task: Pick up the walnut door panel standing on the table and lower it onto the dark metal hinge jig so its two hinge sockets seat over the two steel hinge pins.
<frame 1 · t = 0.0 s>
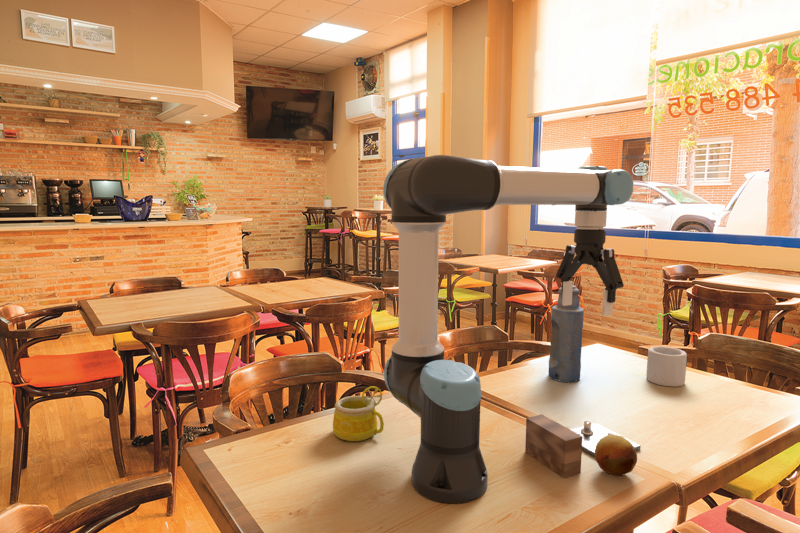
hand: (586, 310, 129), 28 cm above the table, fingers open, 13 cm apart
fruit: (614, 474, 103), on the table
mug 2: (358, 435, 120), on the table
door: (551, 462, 107), on the table
hinge jig: (598, 442, 116), on the table
bottle: (564, 378, 160), on the table
mug: (662, 380, 158), on the table
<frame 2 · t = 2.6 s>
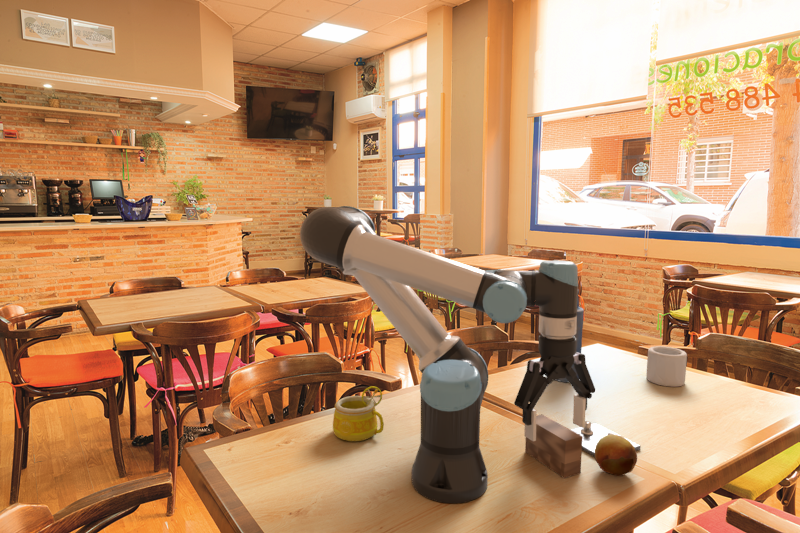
hand: (555, 431, 106), 7 cm above the table, fingers open, 13 cm apart
nothing on the table moved.
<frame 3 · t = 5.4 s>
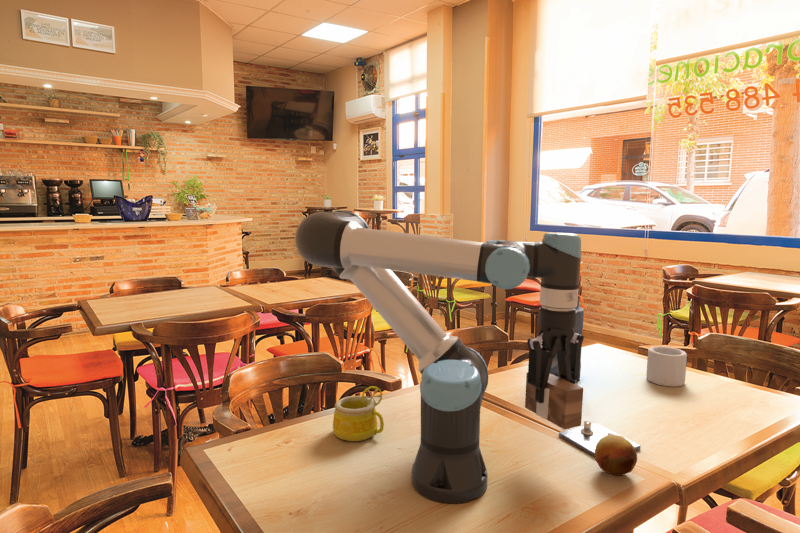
hand: (551, 414, 106), 11 cm above the table, fingers closed on door, 4 cm apart
door: (551, 416, 106), point 10 cm above the table, touching gripper
everything else where it was.
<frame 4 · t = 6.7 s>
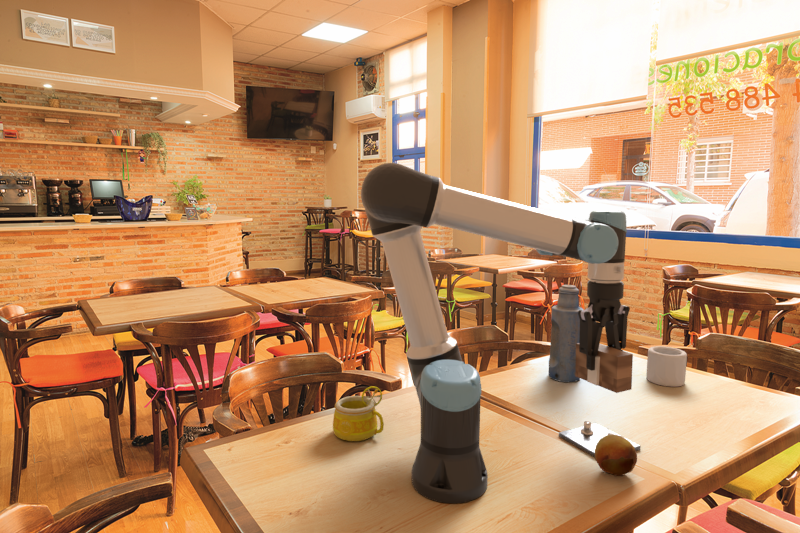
hand: (601, 381, 114), 15 cm above the table, fingers closed on door, 4 cm apart
door: (602, 382, 113), point 15 cm above the table, touching gripper
everything else where it was.
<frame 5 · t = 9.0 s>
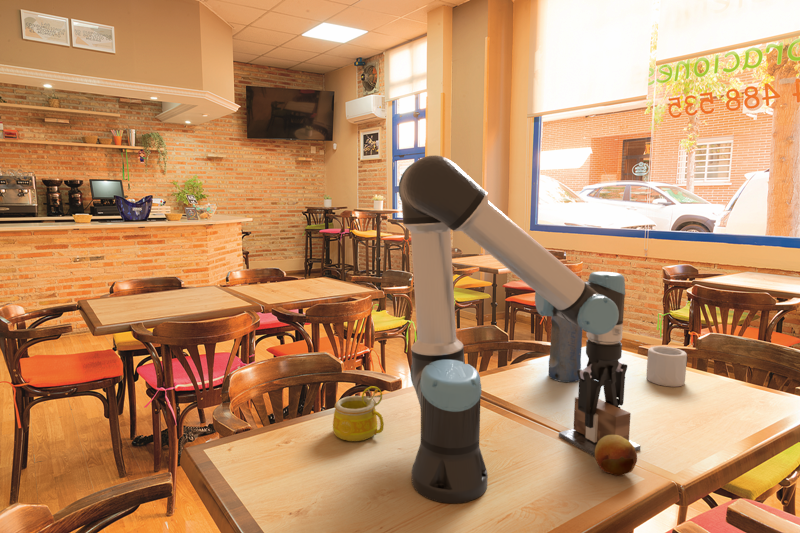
hand: (599, 437, 116), 1 cm above the table, fingers closed on door, 4 cm apart
door: (600, 437, 116), point 1 cm above the table, touching gripper, hinge jig
everything else where it was.
when the fingers open (1 cm above the table, at t = 9.6 s): door stays where it is, resting on hinge jig.
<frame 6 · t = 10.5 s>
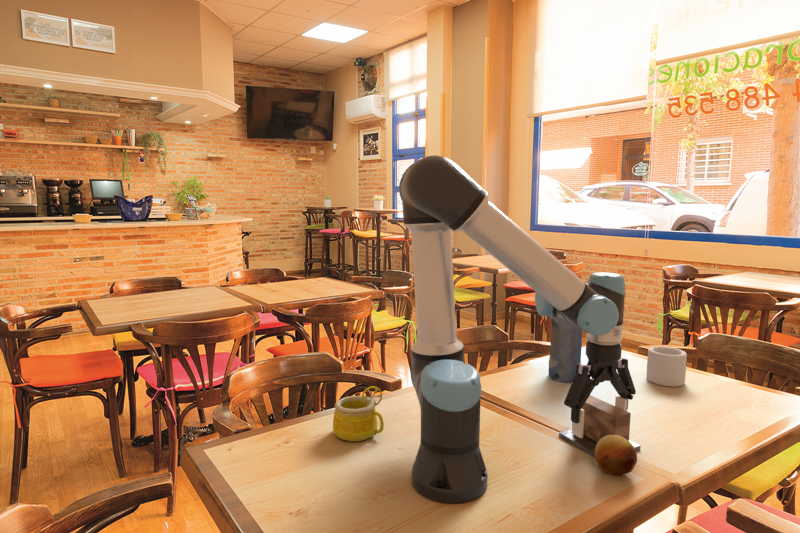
hand: (599, 429, 116), 3 cm above the table, fingers open, 13 cm apart
door: (600, 437, 116), point 1 cm above the table, touching hinge jig
everything else where it was.
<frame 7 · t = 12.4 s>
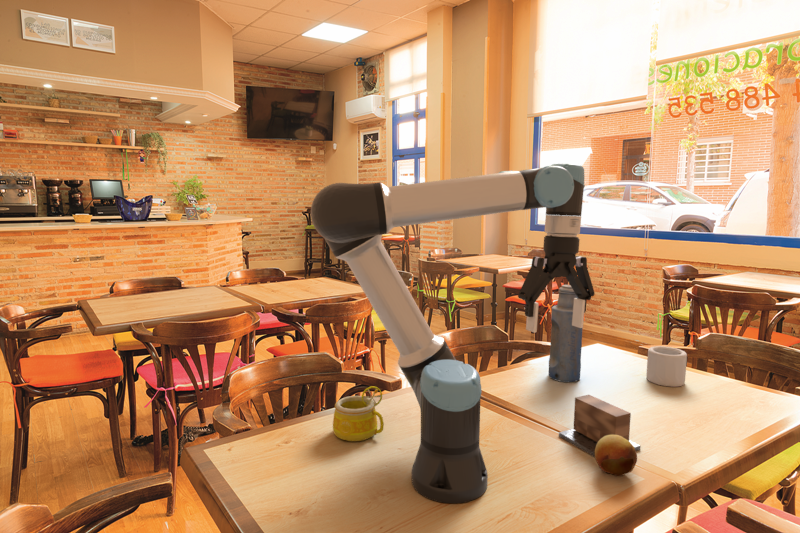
hand: (554, 328, 113), 27 cm above the table, fingers open, 13 cm apart
nothing on the table moved.
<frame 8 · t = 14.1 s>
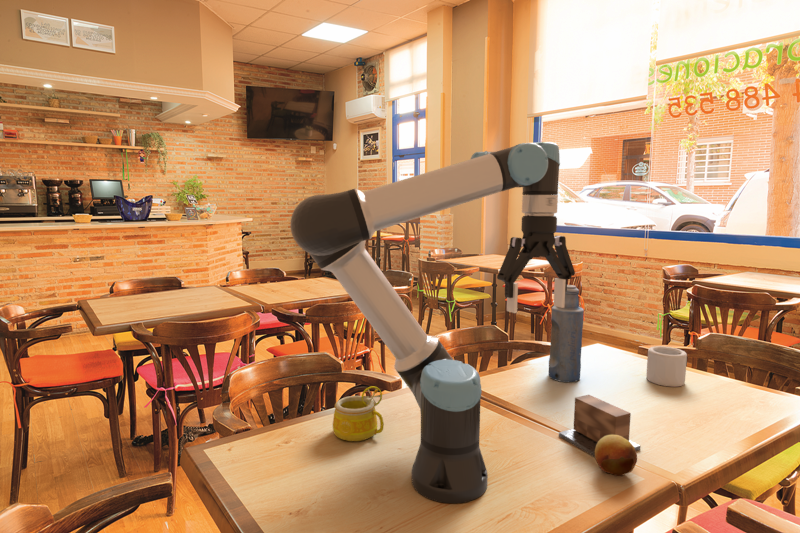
hand: (535, 309, 112), 32 cm above the table, fingers open, 13 cm apart
nothing on the table moved.
at the end: door 0.3 cm off-centre on the hinge jig, point 1.3 cm above the hinge jig's base; door tilted 0°; the gripper is holding nothing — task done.
